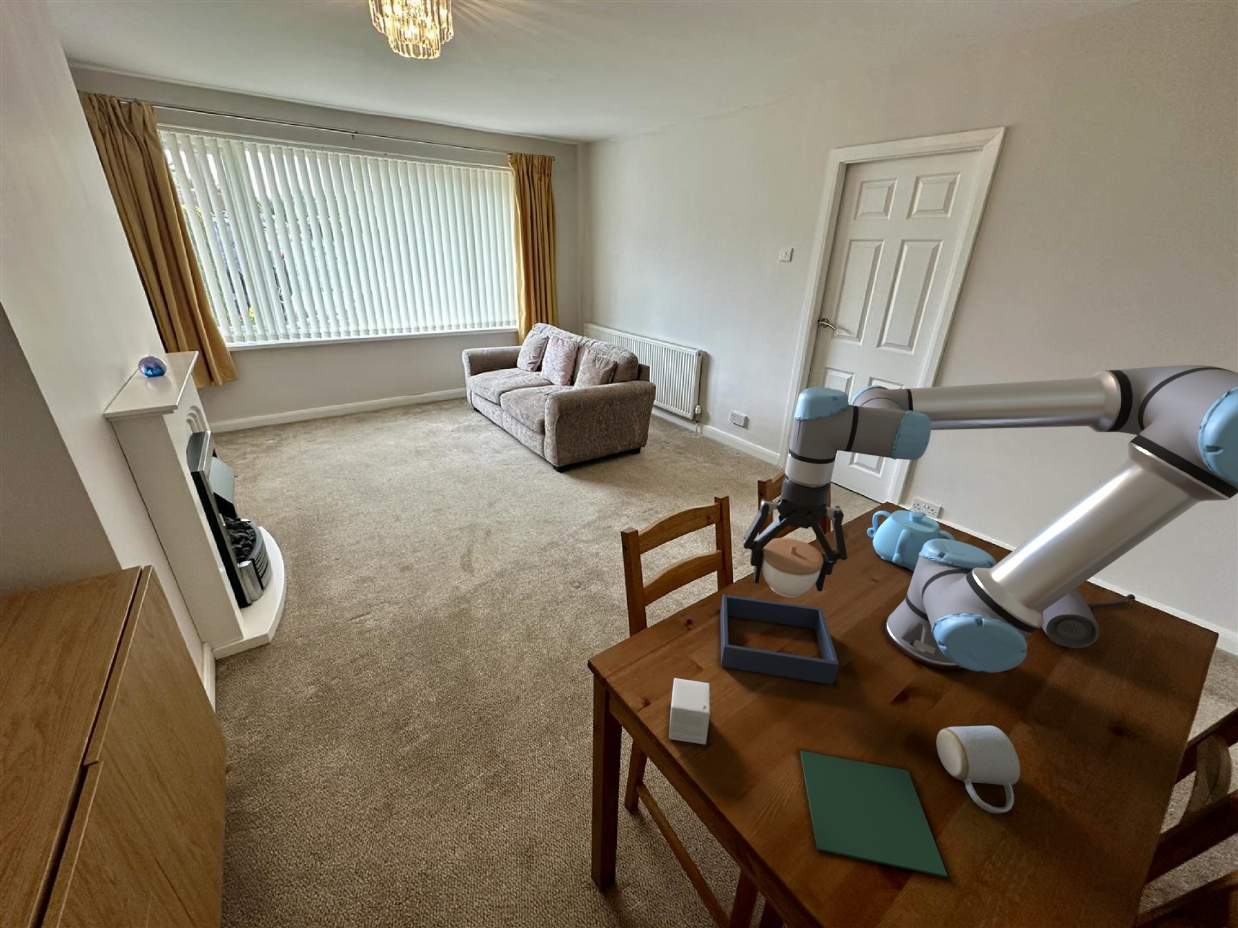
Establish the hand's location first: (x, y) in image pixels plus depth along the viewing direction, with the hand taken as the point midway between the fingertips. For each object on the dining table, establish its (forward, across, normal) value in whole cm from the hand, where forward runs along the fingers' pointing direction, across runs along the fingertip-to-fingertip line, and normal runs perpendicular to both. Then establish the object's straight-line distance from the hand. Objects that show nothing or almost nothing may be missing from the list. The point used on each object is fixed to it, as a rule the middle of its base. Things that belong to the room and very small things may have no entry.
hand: (786, 582), depth 91 cm
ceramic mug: (+16, -28, +22) cm, 39 cm away
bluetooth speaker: (+17, -61, -22) cm, 67 cm away
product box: (+16, +16, +22) cm, 32 cm away
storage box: (+16, 0, 0) cm, 16 cm away
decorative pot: (+16, -38, -41) cm, 58 cm away
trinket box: (+1, 0, 0) cm, 1 cm away
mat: (+16, -10, +30) cm, 35 cm away
